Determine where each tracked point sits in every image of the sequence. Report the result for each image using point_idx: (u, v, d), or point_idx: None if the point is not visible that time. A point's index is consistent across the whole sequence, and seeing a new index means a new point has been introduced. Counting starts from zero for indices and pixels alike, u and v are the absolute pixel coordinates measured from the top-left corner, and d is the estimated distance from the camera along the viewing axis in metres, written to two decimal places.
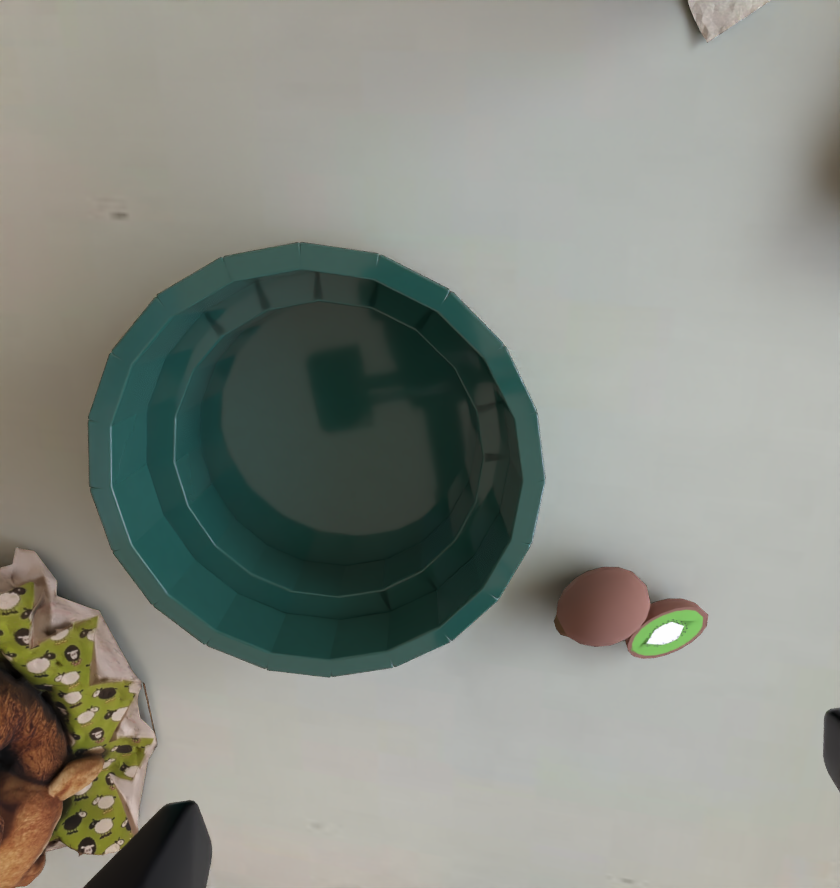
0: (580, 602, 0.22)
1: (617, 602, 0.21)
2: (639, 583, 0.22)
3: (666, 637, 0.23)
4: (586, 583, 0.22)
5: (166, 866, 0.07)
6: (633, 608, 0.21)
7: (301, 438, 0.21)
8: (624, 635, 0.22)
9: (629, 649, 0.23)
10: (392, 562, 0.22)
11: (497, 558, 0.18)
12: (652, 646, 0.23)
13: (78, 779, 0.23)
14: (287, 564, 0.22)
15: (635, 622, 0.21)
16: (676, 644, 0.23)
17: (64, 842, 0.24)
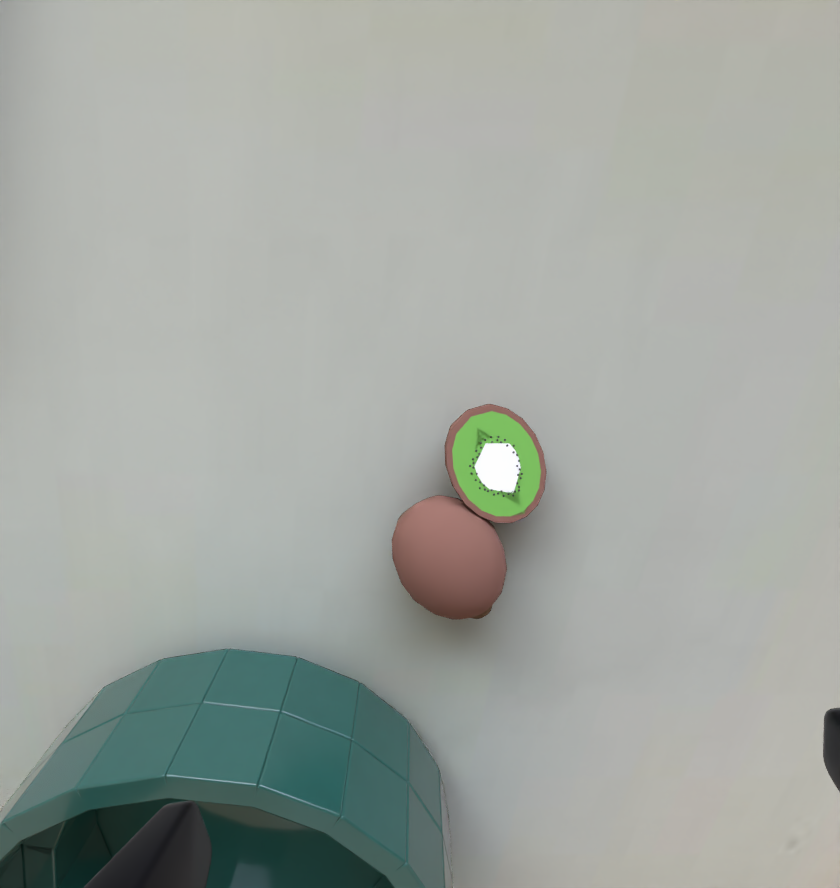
0: (427, 607, 0.15)
1: (418, 571, 0.15)
2: (404, 525, 0.15)
3: (505, 463, 0.15)
4: (406, 589, 0.16)
5: (166, 866, 0.07)
6: (429, 550, 0.15)
7: (249, 850, 0.20)
8: (474, 559, 0.15)
9: (522, 517, 0.16)
10: None
11: (282, 816, 0.14)
12: (521, 481, 0.15)
13: None
14: (387, 887, 0.19)
15: (452, 547, 0.15)
16: (524, 442, 0.15)
17: None
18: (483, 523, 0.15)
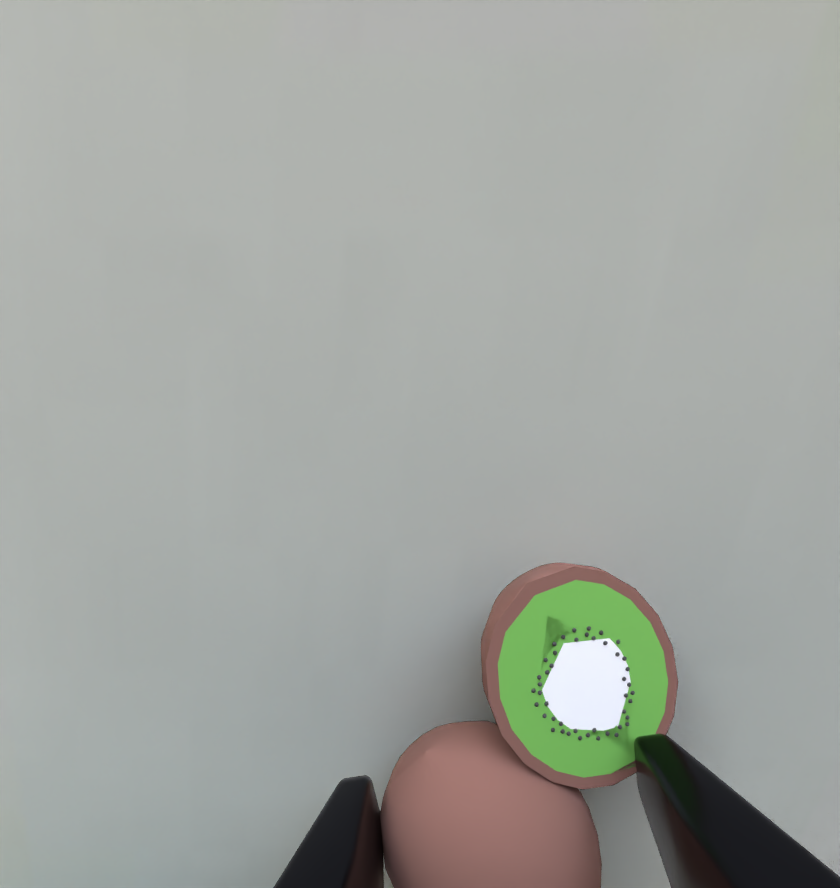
0: None
1: None
2: (402, 804, 0.08)
3: (601, 677, 0.08)
4: None
5: (364, 839, 0.07)
6: (455, 875, 0.07)
7: None
8: None
9: (633, 772, 0.08)
10: None
11: None
12: (631, 705, 0.08)
13: None
14: None
15: (503, 871, 0.07)
16: (637, 633, 0.08)
17: None
18: (559, 795, 0.08)
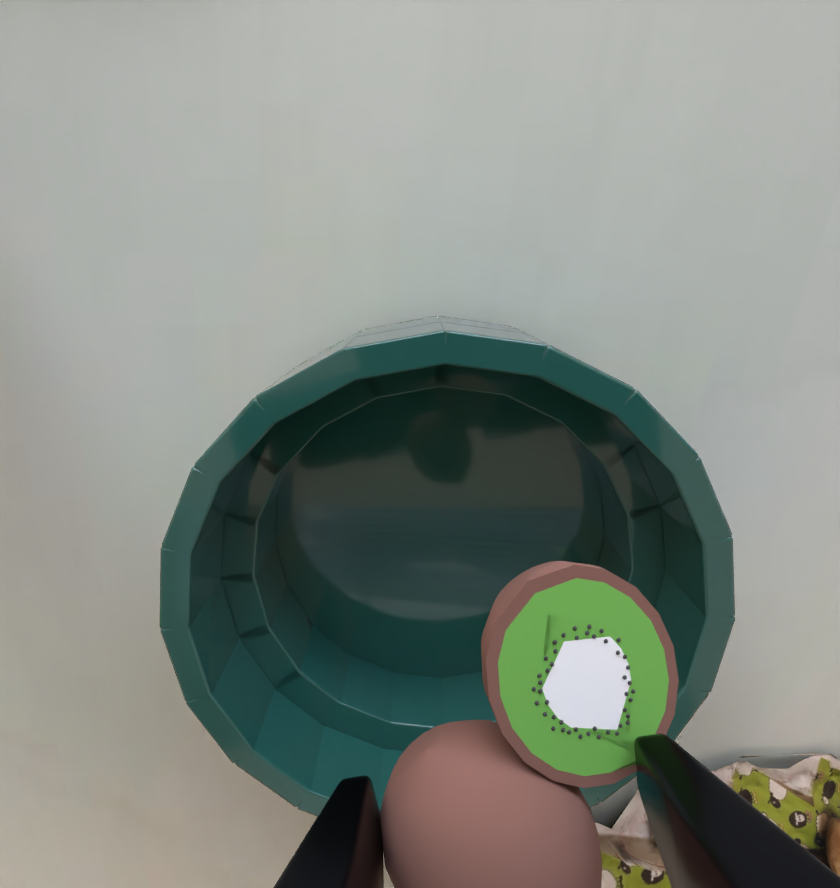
0: None
1: None
2: (402, 803, 0.08)
3: (601, 675, 0.08)
4: None
5: (364, 839, 0.07)
6: (455, 874, 0.07)
7: (436, 576, 0.18)
8: None
9: (634, 770, 0.08)
10: (601, 483, 0.17)
11: (567, 393, 0.12)
12: (632, 704, 0.08)
13: None
14: None
15: (503, 870, 0.07)
16: (638, 631, 0.08)
17: None
18: (560, 794, 0.08)
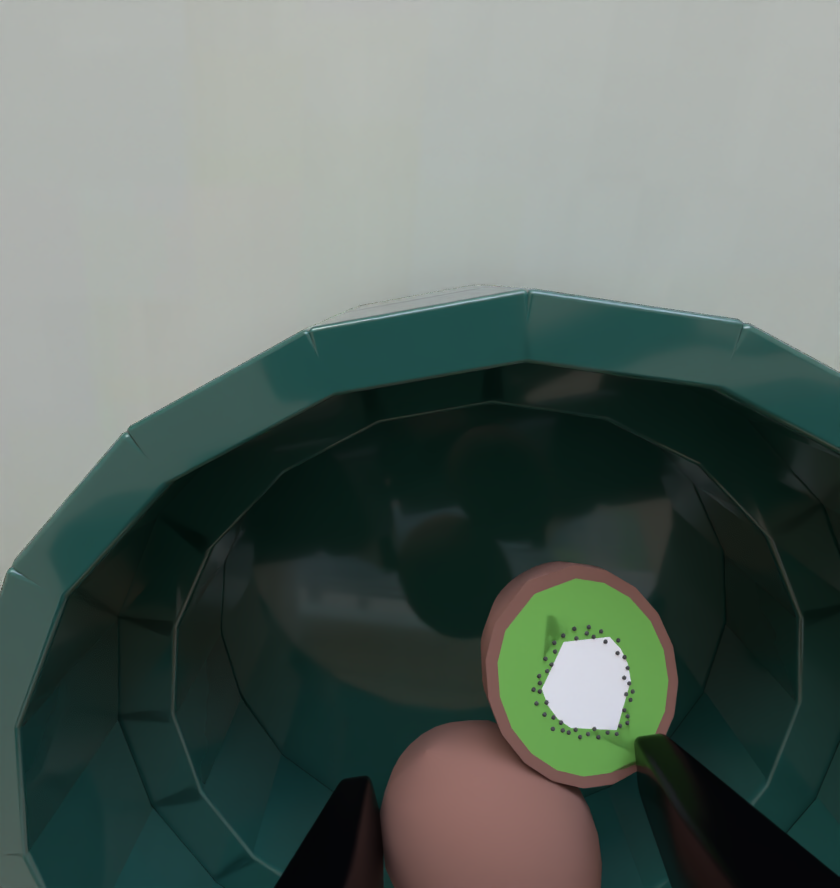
0: None
1: None
2: (401, 803, 0.08)
3: (602, 676, 0.08)
4: None
5: (364, 839, 0.07)
6: (455, 874, 0.07)
7: (466, 684, 0.12)
8: None
9: (633, 771, 0.08)
10: (733, 552, 0.11)
11: (774, 422, 0.06)
12: (632, 704, 0.08)
13: None
14: (707, 738, 0.12)
15: (503, 870, 0.07)
16: (637, 632, 0.08)
17: None
18: (559, 794, 0.08)
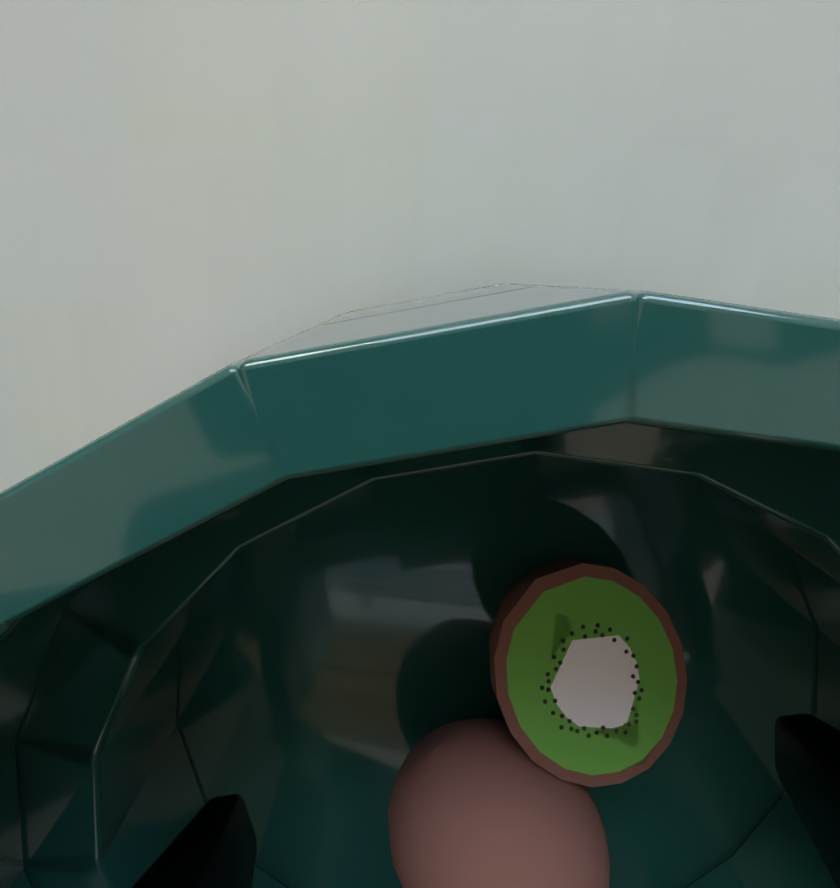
0: None
1: None
2: (410, 801, 0.08)
3: (611, 675, 0.08)
4: None
5: (218, 859, 0.07)
6: (464, 872, 0.07)
7: None
8: None
9: (641, 770, 0.08)
10: (837, 632, 0.08)
11: None
12: (641, 703, 0.08)
13: None
14: (793, 860, 0.09)
15: (511, 869, 0.07)
16: (646, 630, 0.08)
17: None
18: (568, 793, 0.08)
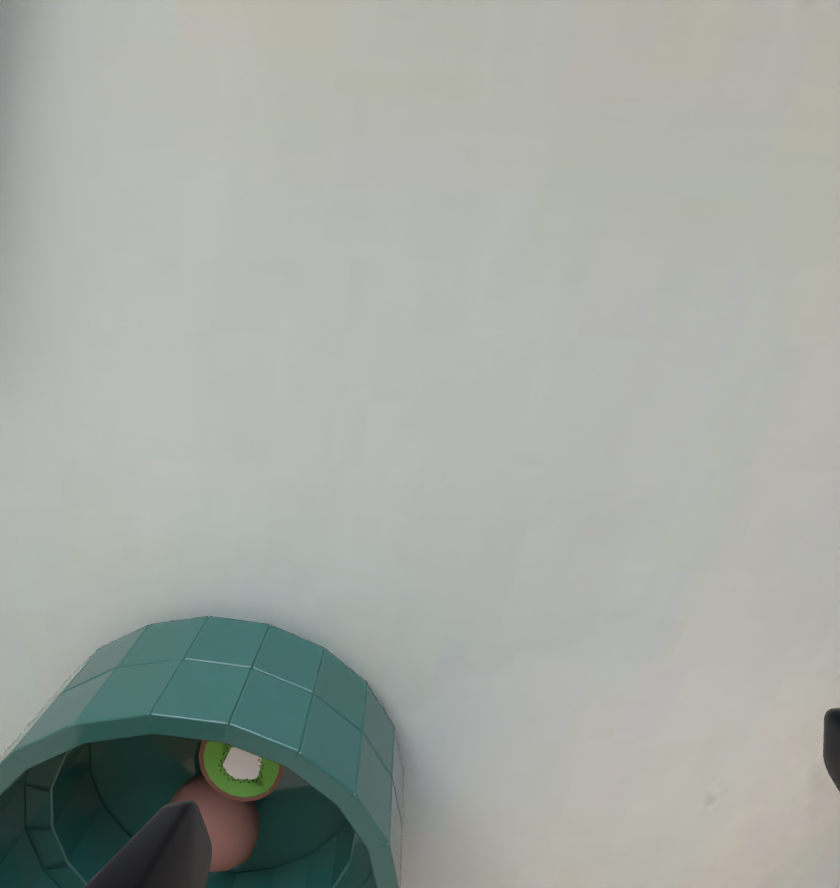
0: None
1: None
2: None
3: (248, 759, 0.20)
4: None
5: (166, 866, 0.07)
6: None
7: None
8: (218, 838, 0.20)
9: (265, 795, 0.21)
10: None
11: (249, 751, 0.16)
12: (263, 770, 0.20)
13: None
14: (347, 832, 0.22)
15: None
16: None
17: None
18: (232, 804, 0.20)
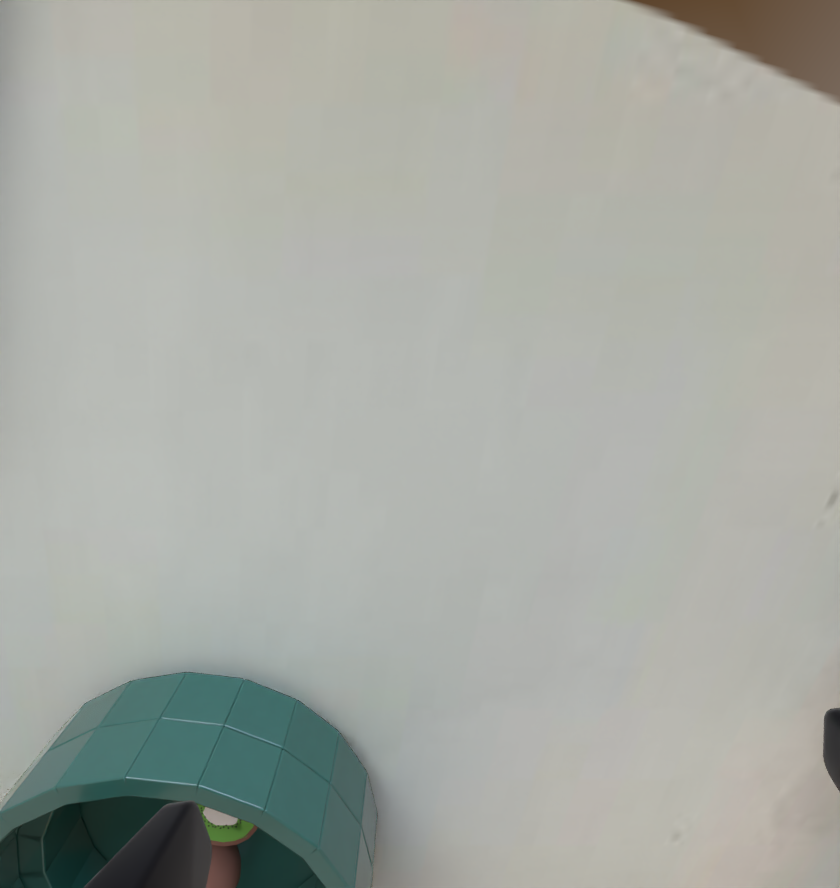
0: None
1: None
2: None
3: None
4: None
5: (166, 866, 0.07)
6: None
7: None
8: None
9: (245, 839, 0.22)
10: None
11: (218, 809, 0.17)
12: None
13: None
14: None
15: None
16: None
17: None
18: (213, 848, 0.21)
